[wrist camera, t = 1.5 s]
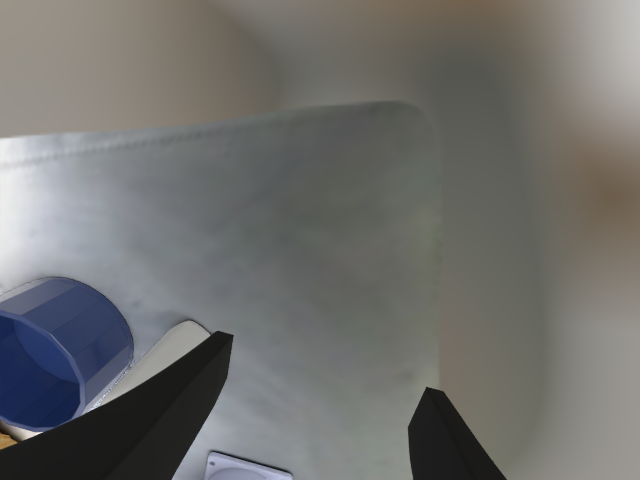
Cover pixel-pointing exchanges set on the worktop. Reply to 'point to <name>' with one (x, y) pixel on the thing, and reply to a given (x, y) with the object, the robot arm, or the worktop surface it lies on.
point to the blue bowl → (58, 352)
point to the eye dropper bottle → (160, 356)
